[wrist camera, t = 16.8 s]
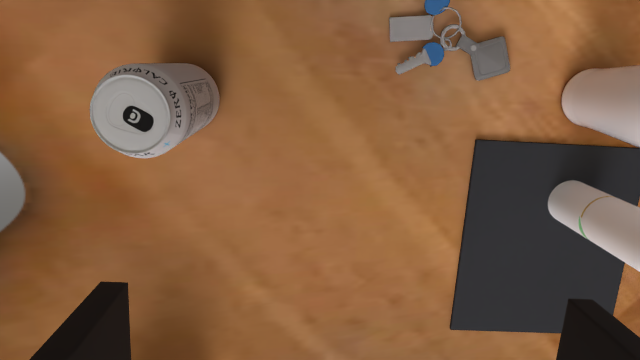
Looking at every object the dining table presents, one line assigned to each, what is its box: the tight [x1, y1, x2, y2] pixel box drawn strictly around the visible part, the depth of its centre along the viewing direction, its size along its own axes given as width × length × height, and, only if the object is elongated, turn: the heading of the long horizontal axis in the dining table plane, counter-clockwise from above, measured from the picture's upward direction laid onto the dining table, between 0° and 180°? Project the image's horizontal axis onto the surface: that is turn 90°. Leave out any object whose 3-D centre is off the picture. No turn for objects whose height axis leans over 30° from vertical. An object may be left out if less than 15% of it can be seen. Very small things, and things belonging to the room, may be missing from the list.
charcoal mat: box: [450, 140, 640, 333], centre depth 48 cm, size 20×17×1 cm
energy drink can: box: [90, 63, 219, 158], centre depth 36 cm, size 6×6×15 cm
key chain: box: [389, 0, 510, 80], centre depth 43 cm, size 14×8×1 cm, turn 53°
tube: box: [548, 180, 640, 272], centre depth 39 cm, size 4×4×15 cm
